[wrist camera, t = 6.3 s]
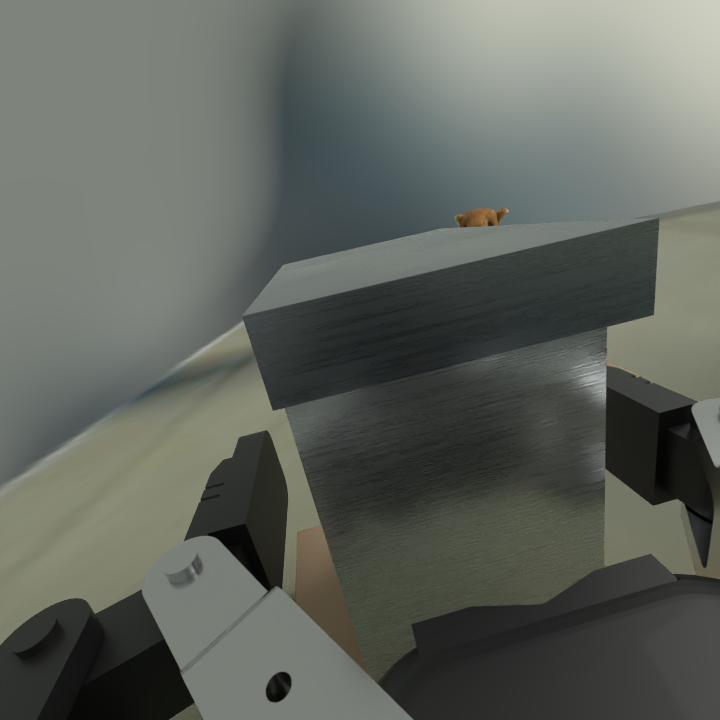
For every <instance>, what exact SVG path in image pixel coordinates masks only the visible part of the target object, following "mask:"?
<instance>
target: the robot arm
mask: <svg viewBox="0 0 720 720" xmlns="http://www.w3.org/2000/svg"><path fill="white" fill-rule="evenodd" d="M605 469H607V470H608V471H609V472H611V473H612V474H613V475H614V476H616V477H617V478H618V479H620V480H621V481H622V482H623V483H625V484H626V485H627V486H629V487H630V488H631V489H632V490H634V491H635V492H636V493H637V494H639V495H640V496H641V497H643V498H644V499H645V500H646V501H648V502H649V503H650V504H652V505H653V506H654V505H657V504H661V503H664V502H668V501H671V500H675V499H679V500H680V501H681V502H682V508H681V518H682V521H683V525H684V529H685V533H686V537H687V540H688V544H689V548H690V552H691V556H692V559H693V563H694V567H695V571H696V575H685V574H672V573H671V572H670V571H669V570H667V569H666V568H665V567H664V566H663V565H662V564H661V563H660V562H659V561H658V560H657V559H656V558H655V557H653V556H652V555H651V554H649V555H645V556H642V557H639V558H635V559H632V560H628V561H625V562H621V563H618V564H615V565H611V566H608V567H604V568H601V569H598V570H594V571H592V572H591V573H589V574H588V575H586V576H585V577H583V578H582V579H580V580H579V581H577V582H576V583H575V584H573V585H572V586H570V587H569V588H567V589H566V590H564V591H563V592H561V593H560V594H558V595H557V596H555V597H554V598H552V599H551V600H549V601H547V602H546V603H543V604H537V605H503V606H471V607H468V608H465V609H461V610H458V611H454V612H451V613H447V614H444V615H441V616H437V617H434V618H430V619H427V620H424V621H420V622H417V623H413V624H411V626H412V630H413V634H414V638H415V643H416V647H415V648H414V649H413V650H411V651H410V652H408V653H407V654H405V655H404V656H403V657H402V658H401V659H399V660H398V661H397V662H396V663H395V664H394V665H393V666H391V668H390V669H389V670H388V671H387V672H386V673H385V674H384V675H383V676H382V678H381V679H380V680H379V681H378V683H376V682H375V681H374V680H373V679H372V678H371V677H370V676H369V675H368V674H367V673H366V672H365V671H364V670H363V669H362V668H361V667H360V666H359V665H358V664H357V663H356V662H355V661H354V660H353V659H352V658H351V657H350V656H349V655H348V654H347V653H346V652H345V651H344V650H343V649H342V648H341V647H340V646H339V645H338V644H336V643H335V642H334V641H333V640H332V639H331V638H330V637H329V636H328V635H327V634H326V633H325V632H324V631H323V630H322V629H321V628H320V627H319V626H318V625H317V624H316V623H315V622H314V621H313V620H312V619H311V618H310V617H309V616H308V615H307V614H306V613H305V612H304V611H303V610H302V609H301V608H300V607H299V606H298V605H297V604H296V603H295V602H294V601H293V600H292V599H291V598H290V597H289V596H288V595H287V594H286V593H285V592H284V591H283V590H282V581H283V567H284V552H285V538H286V523H287V509H288V491H287V485H286V480H285V477H284V474H283V471H282V468H281V465H280V462H279V459H278V456H277V453H276V450H275V447H274V444H273V441H272V438H271V436H270V434H269V432H268V431H267V430H266V431H262V432H258V433H254V434H250V435H246V436H242V437H240V438H239V439H238V442H237V445H236V448H235V451H234V454H233V457H232V458H229V459H225V460H223V461H222V462H221V463H220V464H219V465H218V466H217V467H216V469H215V470H214V471H213V472H212V473H211V474H210V477H209V479H208V482H207V484H206V487H205V488H206V490H204V492H203V494H202V497H201V502H199V505H198V507H197V510H196V512H195V515H194V517H193V520H192V522H191V525H190V527H189V530H188V532H187V535H186V537H185V540H184V542H182V543H180V544H178V545H176V546H175V547H173V548H171V549H170V550H169V551H167V552H166V553H165V554H164V555H162V556H161V557H160V558H159V559H158V560H157V561H156V562H155V563H154V564H153V566H152V567H151V568H150V570H149V571H148V573H147V575H146V576H145V579H144V581H143V585H142V590H140V591H138V592H136V593H135V594H133V595H131V596H129V597H127V598H125V599H123V600H121V601H119V602H117V603H115V604H114V605H112V606H110V607H108V608H106V609H104V610H102V611H100V612H98V613H96V614H95V613H94V612H93V610H92V609H91V607H90V605H89V604H88V603H87V602H86V601H85V600H83V599H78V598H75V599H68V600H64V601H61V602H59V603H56V604H54V605H52V606H50V607H48V608H46V609H44V610H42V611H41V612H39V613H37V614H36V615H34V616H33V617H31V618H30V619H29V620H27V621H26V622H25V623H23V624H22V625H21V626H20V627H19V628H18V629H16V630H15V631H14V632H13V633H12V634H11V635H10V636H9V637H8V638H7V639H6V640H5V641H4V642H3V643H2V644H1V645H0V720H169V719H170V718H172V717H173V716H175V715H176V714H178V713H179V712H181V711H183V710H184V709H186V708H187V707H189V706H190V705H192V704H193V703H196V705H197V707H198V709H199V711H200V713H201V715H202V717H203V719H204V720H720V398H713V399H706V400H702V401H700V402H697V401H695V400H692V399H690V398H688V397H685V396H683V395H681V394H678V393H676V392H674V391H671V390H669V389H667V388H664V387H662V386H659V385H657V384H655V383H652V384H651V383H650V381H648V380H645V379H643V378H641V377H636V375H634V374H631V373H629V372H627V371H624V370H622V369H620V368H616V367H611V366H606V437H605Z"/></svg>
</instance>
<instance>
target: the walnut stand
mask: <svg viewBox="0 0 720 720" xmlns="http://www.w3.org/2000/svg"><path fill="white" fill-rule="evenodd" d="M604 567H606V566H605V565H604ZM295 603H296V604H297V605H298V606H299V607H300V608H301V609H302V610H303V611H304V612H305V613H306V614H307V615H308V616H309V617H310V618H311V619H312V620H313V621H314V622H315V623H316V624H317V625H318V626H319V627H320V628H321V629H322V630H323V631H324V632H325V633H326V634H327V635H328V636H329V637H330V638H331V639H332V640H333V641H334V642H335V643H336V644H338V645H339V646H340V647H341V648H342V649H343V650H344V651H345V652H346V653H347V654H348V655H349V656H350V657H351V658H352V659H353V660H354V661H355V662H356V663H357V664H358V665H359V666H360V667H361V668H362V669H363V670H364V671H365V672H366V673H367V674H368V672H367V669H366V666H365V662H364V659H363V656H362V653H361V650H360V647H359V643H358V640H357V637H356V634H355V631H354V627H353V624H352V621H351V618H350V615H349V611H348V608H347V605H346V602H345V599H344V595H343V592H342V589H341V586H340V583H339V579H338V576H337V573H336V570H335V567H334V564H333V560H332V557H331V554H330V551H329V548H328V544H327V541H326V538H325V535H324V532H323V528H322V526H318V527H314V528H311V529H307V530H303V531H300V532H297V560H296V591H295Z"/></svg>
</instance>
